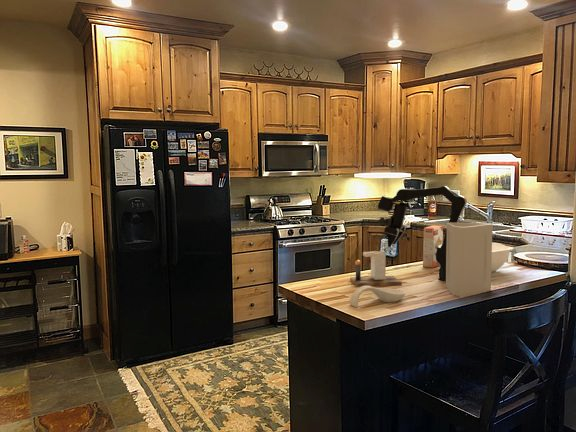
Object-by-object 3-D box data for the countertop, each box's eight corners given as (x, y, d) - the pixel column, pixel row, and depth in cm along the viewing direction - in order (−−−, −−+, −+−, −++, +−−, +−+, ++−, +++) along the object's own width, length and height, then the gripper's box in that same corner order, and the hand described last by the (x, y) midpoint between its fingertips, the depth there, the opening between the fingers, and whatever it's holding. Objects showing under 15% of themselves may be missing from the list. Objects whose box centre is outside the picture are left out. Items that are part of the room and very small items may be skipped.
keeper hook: (360, 279, 212) (360, 259, 211) (361, 280, 210) (361, 260, 209) (354, 279, 212) (354, 259, 211) (356, 280, 209) (355, 260, 208)
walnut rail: (392, 278, 219) (392, 275, 218) (401, 284, 207) (401, 280, 207) (350, 280, 217) (350, 276, 216) (356, 286, 205) (356, 282, 204)
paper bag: (462, 283, 208) (463, 221, 205) (491, 290, 195) (493, 224, 193) (432, 289, 198) (433, 224, 195) (461, 297, 185) (463, 227, 183)
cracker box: (433, 268, 240) (434, 228, 238) (422, 267, 244) (422, 227, 242) (442, 263, 251) (443, 225, 250) (432, 262, 255) (432, 224, 253)
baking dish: (475, 280, 213) (476, 253, 212) (428, 269, 237) (429, 245, 236) (522, 271, 229) (523, 246, 228) (474, 262, 254) (474, 239, 253)
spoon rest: (391, 295, 191) (391, 278, 190) (411, 301, 181) (411, 283, 180) (344, 303, 180) (344, 285, 179) (362, 311, 170) (362, 292, 169)
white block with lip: (381, 276, 215) (381, 250, 214) (385, 279, 209) (385, 253, 208) (362, 277, 214) (362, 251, 213) (365, 280, 208) (365, 253, 207)
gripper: (387, 209, 234) (380, 238, 237) (377, 212, 218) (370, 243, 221) (409, 214, 229) (402, 244, 233) (400, 218, 213) (392, 250, 216)
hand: (391, 245), depth 225 cm, fingers open, 9 cm apart
